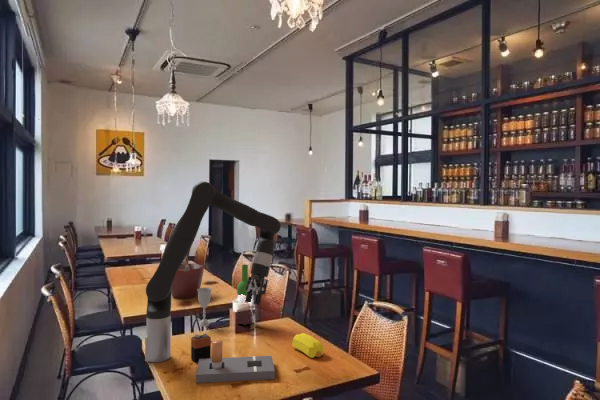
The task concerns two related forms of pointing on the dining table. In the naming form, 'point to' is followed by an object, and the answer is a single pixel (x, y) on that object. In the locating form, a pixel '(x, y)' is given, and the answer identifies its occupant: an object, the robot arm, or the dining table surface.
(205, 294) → the chalice
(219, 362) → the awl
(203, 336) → the battery
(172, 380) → the dining table surface
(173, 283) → the bucket
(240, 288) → the wine bottle
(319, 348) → the yellow faceted prism
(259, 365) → the grey peg board
